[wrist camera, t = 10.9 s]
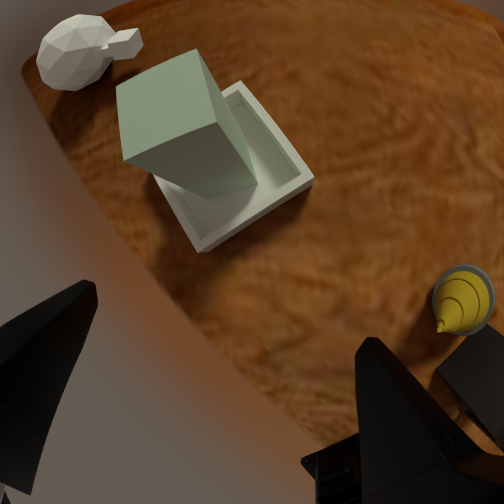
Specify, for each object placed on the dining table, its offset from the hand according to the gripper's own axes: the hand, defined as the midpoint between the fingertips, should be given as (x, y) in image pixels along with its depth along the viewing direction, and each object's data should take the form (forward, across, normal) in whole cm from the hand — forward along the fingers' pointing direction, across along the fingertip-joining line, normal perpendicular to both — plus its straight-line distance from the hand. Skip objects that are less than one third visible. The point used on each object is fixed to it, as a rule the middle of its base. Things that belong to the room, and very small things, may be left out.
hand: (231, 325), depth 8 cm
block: (+15, +2, 0) cm, 15 cm away
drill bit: (+9, -17, +4) cm, 19 cm away
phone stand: (+5, -24, +8) cm, 25 cm away
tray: (+15, +2, 0) cm, 15 cm away
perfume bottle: (+24, +18, -7) cm, 31 cm away
